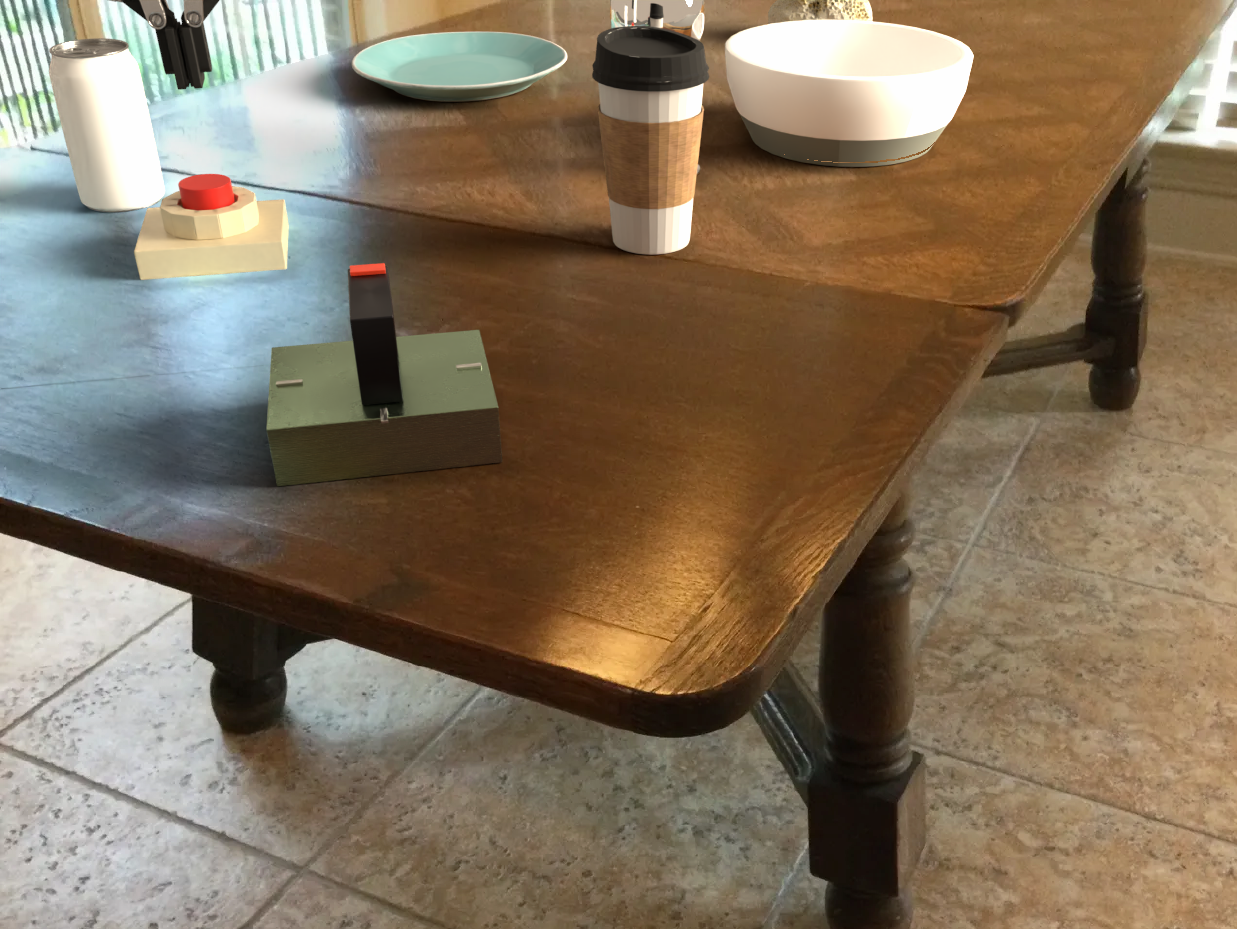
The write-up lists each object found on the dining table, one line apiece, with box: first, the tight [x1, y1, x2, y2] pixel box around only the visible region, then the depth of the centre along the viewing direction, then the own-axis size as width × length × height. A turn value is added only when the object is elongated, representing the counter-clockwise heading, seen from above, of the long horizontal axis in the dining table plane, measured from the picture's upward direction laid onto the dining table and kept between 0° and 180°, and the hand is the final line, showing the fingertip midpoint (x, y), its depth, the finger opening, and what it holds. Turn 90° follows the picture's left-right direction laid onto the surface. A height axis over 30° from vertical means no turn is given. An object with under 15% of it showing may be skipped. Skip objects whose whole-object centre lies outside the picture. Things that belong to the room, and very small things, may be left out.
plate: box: [351, 31, 568, 103], centre depth 136 cm, size 22×22×3 cm
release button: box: [177, 173, 235, 211], centre depth 94 cm, size 4×4×2 cm
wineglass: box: [609, 0, 706, 178], centre depth 108 cm, size 8×8×20 cm
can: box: [48, 37, 166, 213], centre depth 102 cm, size 6×6×12 cm
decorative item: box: [767, 0, 873, 24], centre depth 154 cm, size 12×9×10 cm
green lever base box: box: [265, 329, 503, 487], centre depth 74 cm, size 12×11×4 cm
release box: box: [133, 185, 290, 281], centre depth 96 cm, size 10×9×4 cm
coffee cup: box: [591, 26, 710, 256], centre depth 96 cm, size 8×8×15 cm
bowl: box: [724, 20, 974, 168], centre depth 120 cm, size 22×22×8 cm
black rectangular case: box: [347, 262, 403, 405], centre depth 71 cm, size 7×2×5 cm, turn 14°
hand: (191, 83), depth 90 cm, fingers closed
